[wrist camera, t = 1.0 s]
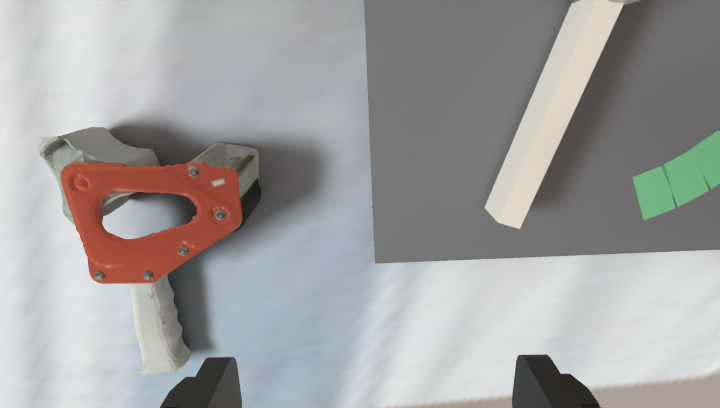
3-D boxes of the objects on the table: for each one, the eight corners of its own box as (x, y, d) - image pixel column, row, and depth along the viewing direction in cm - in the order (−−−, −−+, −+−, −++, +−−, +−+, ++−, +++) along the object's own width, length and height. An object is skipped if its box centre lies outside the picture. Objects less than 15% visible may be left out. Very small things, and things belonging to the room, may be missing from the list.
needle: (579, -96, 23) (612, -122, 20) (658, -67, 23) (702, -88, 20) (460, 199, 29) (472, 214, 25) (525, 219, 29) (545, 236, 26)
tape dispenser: (177, 355, 37) (335, 225, 32) (148, 404, 32) (329, 260, 27) (4, 225, 32) (155, 47, 27) (-61, 259, 28) (108, 49, 22)
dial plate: (361, -69, 25) (361, -78, 24) (823, -96, 24) (854, -108, 23) (374, 254, 32) (375, 263, 30) (737, 240, 31) (757, 248, 30)
